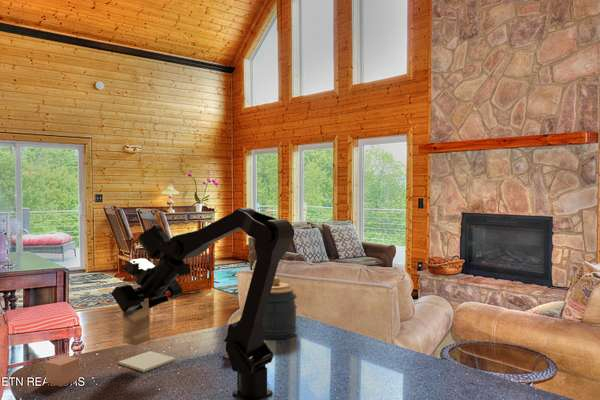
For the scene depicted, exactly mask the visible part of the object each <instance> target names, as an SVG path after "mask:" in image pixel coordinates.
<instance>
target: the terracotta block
mask: <svg viewBox="0 0 600 400" xmlns="http://www.w3.org/2000/svg"><path fill="white" fill-rule="evenodd" d="M77 380H80V358H79V357H74V356H69V355H61V356H58V357H55V358H53V359H50V360H47V361H45V383H46V382H48V383H51V384H50V385H52V384H54V385H53V386H57V385H58V386H57V387H63V385H64V386H66V385H68V384H70V382H71V383H73V382H75V381H77ZM72 381H73V382H72ZM48 383H47V384H48ZM67 383H68V384H67ZM65 384H66V385H65Z"/></svg>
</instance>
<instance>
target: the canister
mask: <svg viewBox="0 0 600 400" xmlns="http://www.w3.org/2000/svg"><path fill="white" fill-rule="evenodd" d="M294 290H295V288H294V287H293V286H292V285H290V284H289V283H287V282H283V281H282V282H281V281H280V278H279V277H276V276H275V278H274V281H273V285H272V289H271V292H270V296H269V300H268V303H267V307H266V310H265V314H264V318H263V327H264V331H265V337H264V340H271V341H272V340H275V341H276V340H286V339H291V338H293V337H294V336H296V334H297V329H298V327H297V305H296V299H297V294H296V293H294V292H293V291H294Z"/></svg>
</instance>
